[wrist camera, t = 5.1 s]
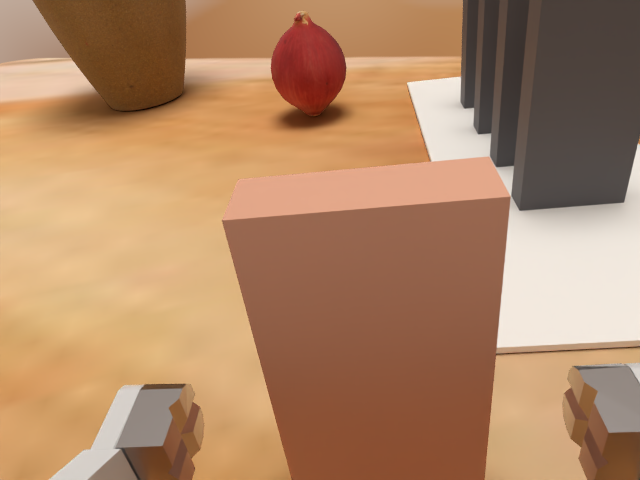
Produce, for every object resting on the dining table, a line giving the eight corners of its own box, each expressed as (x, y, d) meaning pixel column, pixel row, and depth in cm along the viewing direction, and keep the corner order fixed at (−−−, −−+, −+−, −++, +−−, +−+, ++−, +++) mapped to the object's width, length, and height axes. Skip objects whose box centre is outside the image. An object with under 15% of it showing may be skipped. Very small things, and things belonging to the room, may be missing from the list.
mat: (489, 353, 19) (489, 348, 19) (407, 85, 45) (407, 82, 45) (850, 335, 17) (855, 328, 17) (548, 70, 44) (548, 67, 44)
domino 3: (496, 167, 30) (509, -22, 24) (489, 155, 31) (501, -26, 26) (585, 159, 29) (619, -36, 24) (575, 148, 31) (605, -40, 25)
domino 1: (464, 108, 38) (469, -43, 33) (460, 101, 40) (464, -45, 34) (533, 101, 38) (550, -54, 32) (527, 94, 39) (542, -56, 34)
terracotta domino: (301, 516, 15) (222, 220, 9) (305, 465, 16) (237, 179, 10) (481, 513, 14) (510, 196, 9) (469, 460, 15) (488, 156, 10)
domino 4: (519, 211, 26) (542, -6, 20) (511, 195, 27) (530, -12, 22) (624, 202, 25) (676, -22, 20) (610, 187, 27) (655, -27, 21)
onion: (275, 111, 44) (257, 11, 40) (339, 98, 45) (329, -1, 40) (286, 134, 39) (267, 23, 35) (358, 119, 40) (349, 9, 36)
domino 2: (478, 134, 34) (486, -34, 29) (473, 125, 35) (480, -37, 30) (556, 127, 34) (579, -46, 28) (548, 118, 35) (569, -49, 29)
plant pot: (228, 69, 58) (191, -99, 49) (202, 115, 45) (146, -99, 37) (102, 85, 59) (44, -77, 50) (42, 134, 47) (-49, -69, 38)
